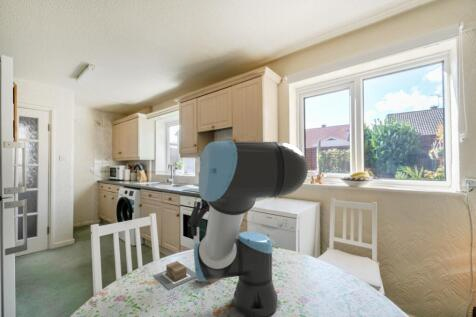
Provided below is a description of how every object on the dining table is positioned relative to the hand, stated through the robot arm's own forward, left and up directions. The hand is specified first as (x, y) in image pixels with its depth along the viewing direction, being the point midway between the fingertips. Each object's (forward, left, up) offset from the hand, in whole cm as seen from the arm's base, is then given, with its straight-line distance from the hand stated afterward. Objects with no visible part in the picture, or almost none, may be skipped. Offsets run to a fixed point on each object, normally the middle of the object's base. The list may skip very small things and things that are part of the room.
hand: (209, 239), depth 91 cm
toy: (0, -26, -15) cm, 30 cm away
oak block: (0, -1, -17) cm, 17 cm away
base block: (+12, +9, -16) cm, 22 cm away
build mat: (+12, +9, -17) cm, 22 cm away
